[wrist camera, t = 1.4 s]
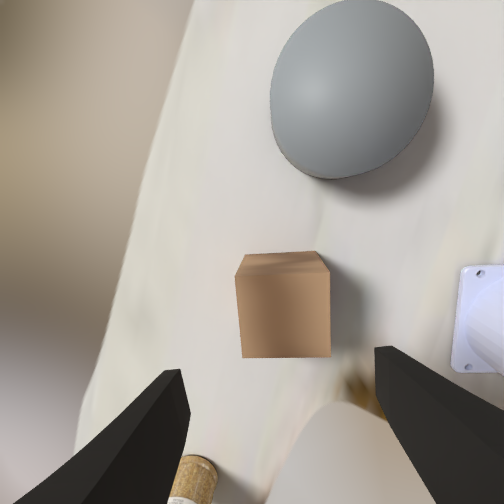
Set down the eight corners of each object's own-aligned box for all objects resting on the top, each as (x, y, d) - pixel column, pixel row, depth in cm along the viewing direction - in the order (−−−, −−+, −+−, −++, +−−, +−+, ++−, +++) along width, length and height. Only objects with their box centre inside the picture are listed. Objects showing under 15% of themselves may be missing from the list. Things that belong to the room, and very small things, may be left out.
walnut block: (315, 250, 18) (329, 272, 13) (316, 315, 19) (330, 357, 14) (245, 254, 18) (234, 276, 14) (250, 317, 19) (242, 358, 15)
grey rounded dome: (407, 27, 14) (441, -15, 11) (399, 173, 16) (427, 169, 13) (267, 47, 15) (265, 12, 12) (274, 183, 17) (274, 182, 14)
